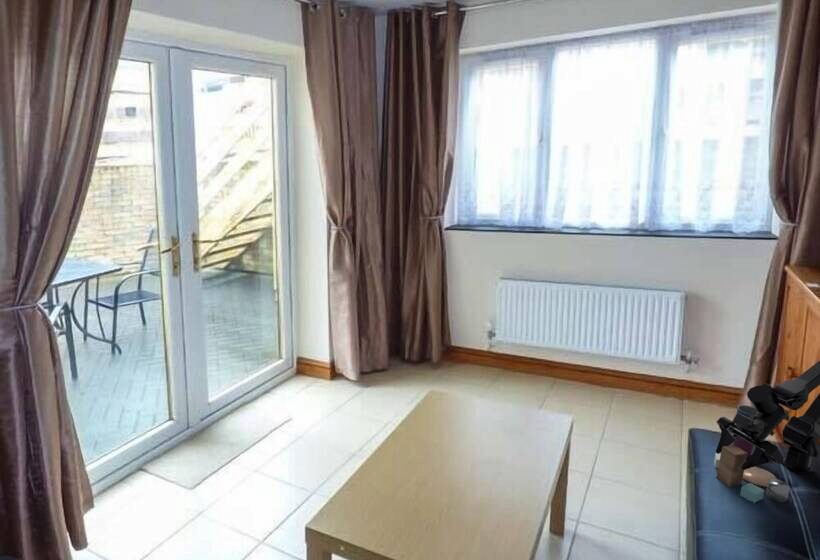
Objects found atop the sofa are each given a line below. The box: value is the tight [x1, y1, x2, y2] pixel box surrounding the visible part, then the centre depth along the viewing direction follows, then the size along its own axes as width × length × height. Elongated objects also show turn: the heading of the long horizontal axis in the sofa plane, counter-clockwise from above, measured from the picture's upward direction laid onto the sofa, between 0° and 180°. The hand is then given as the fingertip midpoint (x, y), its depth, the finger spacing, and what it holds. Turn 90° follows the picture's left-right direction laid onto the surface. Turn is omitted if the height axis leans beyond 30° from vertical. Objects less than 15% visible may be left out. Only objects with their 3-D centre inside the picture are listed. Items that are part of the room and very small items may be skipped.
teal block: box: [739, 482, 766, 504], centre depth 155 cm, size 4×4×3 cm
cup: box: [732, 404, 758, 458], centre depth 176 cm, size 7×7×15 cm
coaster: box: [742, 466, 778, 488], centre depth 165 cm, size 10×10×1 cm
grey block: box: [713, 452, 721, 469], centre depth 170 cm, size 4×4×3 cm
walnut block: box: [716, 444, 748, 487], centre depth 161 cm, size 4×4×10 cm
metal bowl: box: [765, 478, 791, 503], centre depth 155 cm, size 5×5×4 cm
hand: (729, 460), depth 161 cm, fingers open, 8 cm apart
